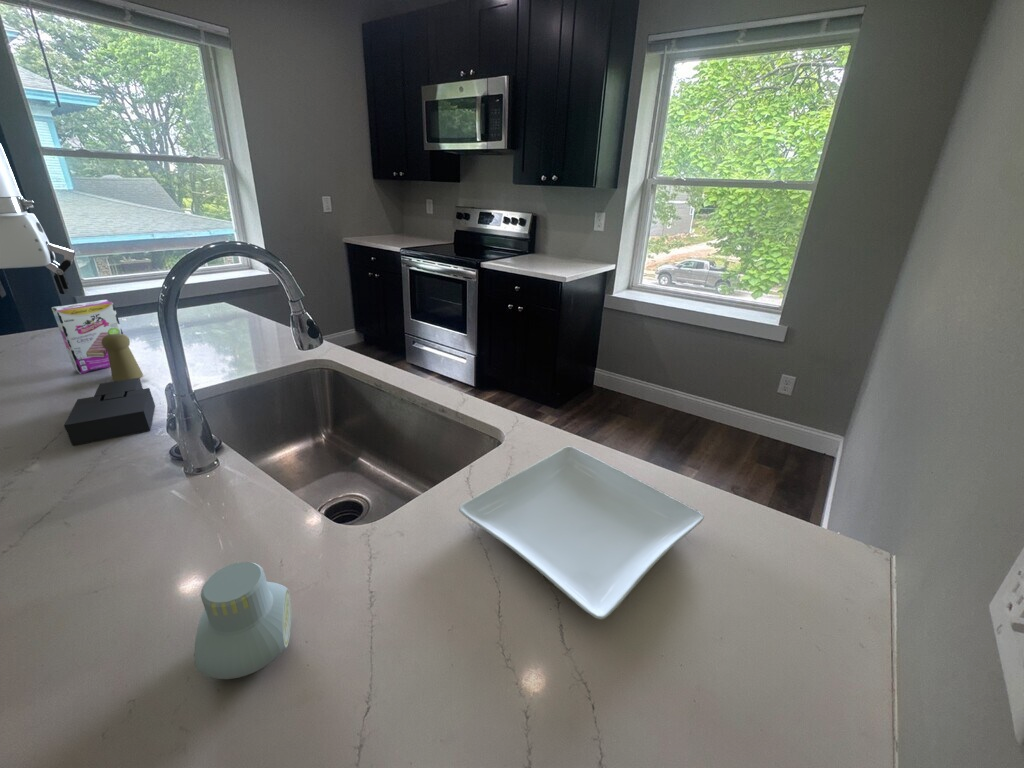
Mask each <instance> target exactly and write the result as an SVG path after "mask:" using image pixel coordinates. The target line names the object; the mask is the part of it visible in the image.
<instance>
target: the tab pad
mask: <svg viewBox="0 0 1024 768" xmlns="http://www.w3.org/2000/svg"><path fill="white" fill-rule="evenodd" d="M139 389H144V388H143V385H142V381H141V378H134V379H127V380H121V381H108V382H101V383H99V384H98V387H97V388H96V391H95V393H94V395H93V397H95V396H101V397H102V399H103V401H104V400H110V399H116V398H122V397H126V395H127V392H128V391H133V390H139Z"/></svg>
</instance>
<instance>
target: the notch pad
mask: <svg viewBox="0 0 1024 768" xmlns="http://www.w3.org/2000/svg"><path fill="white" fill-rule="evenodd" d="M155 409H156V404H155V401H154V398H153V395H152V392H151V389H150V387H146V388H143V389H139V390H133V391H128V392H127V395H126V397H122V398H116V399H110V400H104V401H103V399H102V397H101V396H95V397H94V396H90V397H83V398H77V400H76V401H75V403H74V405H73V407H72V408H71V411H70V413H69V415H68V416H67V418H66V421H65V422H64V424H63V427H64V429H65V431H66V434H67V436H68V438H69V441H70V443H71V446H73V447H74V446H79V445H83V444H90V443H95V442H100V441H105V440H110V439H115V438H116V439H117V438H120V437H125V436H130V435H136V434H140V433H147V432H150V431H151V430H152V424H153V419H154V414H155Z"/></svg>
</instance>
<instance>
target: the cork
mask: <svg viewBox="0 0 1024 768" xmlns="http://www.w3.org/2000/svg"><path fill="white" fill-rule="evenodd" d="M130 345H131V340H130V338H129V336H128V335H126V334H124V333H123V334H111V335H107V336H105V337H104V338H102V346H103V347H104V348H105V349H107V351H108V357H109V362H110V367H109V368H110V373H111V379H112V382H114V381H121V380H127V379H134V378H139V379H141V378H142V377H143V376H144V374H143V371H142V369H141V367H140V365H139V364H138V362H137V359H136V358H135V356H134V354H133V352H132V350H131V348H130Z"/></svg>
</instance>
